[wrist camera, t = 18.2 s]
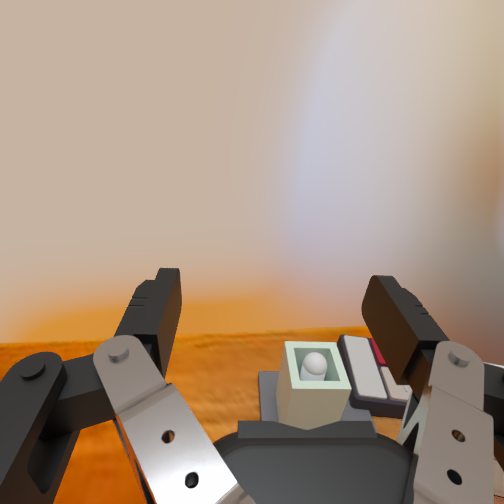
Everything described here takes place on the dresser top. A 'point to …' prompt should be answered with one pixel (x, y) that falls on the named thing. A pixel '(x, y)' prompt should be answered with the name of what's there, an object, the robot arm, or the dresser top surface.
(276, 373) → the post stand
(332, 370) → the sleeve
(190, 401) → the dresser top surface
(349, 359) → the dark gray paneled box
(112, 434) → the dresser top surface
